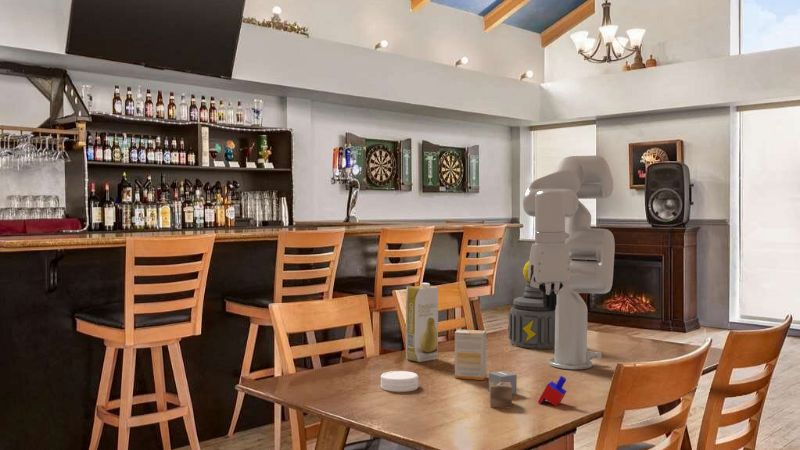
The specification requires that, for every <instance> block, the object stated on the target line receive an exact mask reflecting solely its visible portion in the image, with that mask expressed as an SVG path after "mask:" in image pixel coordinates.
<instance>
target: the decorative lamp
mask: <svg viewBox="0 0 800 450" xmlns="http://www.w3.org/2000/svg"><path fill="white" fill-rule="evenodd" d="M528 269H529V260H528V261H526V262H525V264H524V266H523V268H522V274H523V276H524V277H523V278H524V279H525V280H526V282H525V283H526V284H525V285H526V286H525V287H524V292H523V295H522V296H517V297H516V298H514V299H513V301H512V304H513V306H512V307H511V308H510V311H509V312H508V314H507V316H508V325H507V330H508V339H509V343H510V344H511V345H512V344H513V345H512V346H514V345H516V346H515V347H517V346H520V347H519V348H522V347H525V348H524V349H529V348H535V349H534V350H547V348H552V349H555V310H548V309H545V308H544V305H543V293H542V292H541V291H540V290H539V289H538V288H534V287H531V286H530V283H531V280H529V277H528ZM539 284H540V283H539Z"/></svg>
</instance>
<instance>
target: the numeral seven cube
mask: <svg viewBox="0 0 800 450" xmlns="http://www.w3.org/2000/svg"><path fill="white" fill-rule="evenodd" d="M488 392H489V393H488V394H489V398H488V399H489V400H488V402H489V405H490V406H489V407H490V408H494V407H511V408H510V409H512V408H513V394H512V386H511V383H510V382H490V391H489V390H488Z"/></svg>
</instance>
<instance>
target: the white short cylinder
mask: <svg viewBox="0 0 800 450" xmlns="http://www.w3.org/2000/svg"><path fill="white" fill-rule="evenodd" d="M380 388H381V390H385V391H387V392H394V393H404V392H405V393H406V392H413V391H416V390H417V389H419V375H418V374H417V373H416V372H413V371H407V370H392V371H386V372H383V373H382V374H381V375H380Z"/></svg>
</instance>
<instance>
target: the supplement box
mask: <svg viewBox="0 0 800 450" xmlns="http://www.w3.org/2000/svg"><path fill="white" fill-rule="evenodd" d="M487 366H488V365H487V330H480V329H479V330H477V329H476V330H475V329H474V330H473V329H457V330H456V331H454V378H455V379H462V380H463V379H465V380H474V381H475V380H476V381H484V380H485V379H486V378H487V374H488V373H487V368H488V367H487Z"/></svg>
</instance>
